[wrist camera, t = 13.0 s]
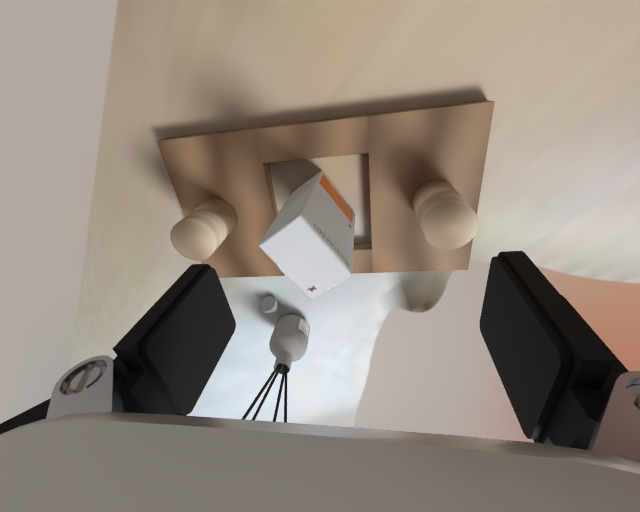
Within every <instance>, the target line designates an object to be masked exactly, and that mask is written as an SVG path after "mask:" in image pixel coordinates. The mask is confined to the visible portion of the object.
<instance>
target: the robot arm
mask: <svg viewBox="0 0 640 512" xmlns="http://www.w3.org/2000/svg"><path fill="white" fill-rule="evenodd" d="M235 327H236V323H235V319H234V317H233V314H232V312H231V309H230V306H229V304H228V301H227V298H226V296H225V293H224V291H223V288H222V285H221V283H220V280H219V278H218V275H217V272H216V270H215V269H214V268H212V267H211V266H210V265H209V264H194V265H191V266H190V267H189V268H188V269H187V270H186V271H185V272H184V273H183V274H182V275H181V276H180V278H179V279H178V280H177V281H176V282H175V283H174V284H173V285H172V286H171V287H170V288H169V289H168V290H167V291H166V292H165V294H164V295H163V296H162V297H161V298H160V299H159V300H158V301H157V302H156V303H155V304H154V305H153V306H152V307H151V308H150V309H149V311H148V312H147V313H146V314H145V315H144V316H143V317H142V318H141V319H140V320H139V321H138V322H137V323H136V324H135V325H134V327H133V328H132V329H131V330H130V331H129V332H128V333H127V334H126V335H125V336H124V337H123V338H122V339H121V340H120V341H119V342H118V344H117V345H116V346H115V347H114V348H113V350H114V351H115V353H116V354H117V357H116V358H115V359H114V360H113V359H112V358H110V357H109V356H103V355H102V356H96V357H93V358H90V359H87V360H85V361H83V362H81V363H79V364H77V365H76V366H74V367H73V368H72V369H70V370H69V371H68V372H66V373H65V374H64V375H63V376H62V377H61V378H60V380H59V381H58V382H57V383H56V385H55V387H54V389H53V392H52V396H51V398H50V399H48V400H47V401H45V402H43V403H41V404H39V405H37V406H35V407H33V408H31V409H29V410H27V411H25V412H23V413H21V414H19V415H17V416H15V417H13V418H11V419H9V420H7V421H5V422H3V423H2V424H0V512H640V371H628V370H627V369H626V368H625V367H624V365H623V364H622V363H621V362H620V361H619V360H618V359H617V358H616V357H615V355H614V354H613V353H612V352H611V350H610V349H609V348H608V347H607V346H606V345H605V343H604V342H603V341H602V340H601V339H600V338H599V337H598V335H597V334H596V333H595V332H594V331H593V330H592V329H591V327H590V326H589V325H588V324H587V323H586V322H585V320H584V319H583V318H582V317H581V316H580V315H579V314H578V312H577V311H576V310H575V309H574V308H573V307H572V305H571V304H570V303H569V302H568V301H567V300H566V299H565V298H564V297H563V296H562V295H560V294H559V293H558V291H557V290H556V289H555V288H554V287H553V286H552V284H551V283H550V282H549V281H548V280H547V279H546V277H545V276H544V275H543V274H542V273H541V272H540V271H539V269H538V268H537V267H536V266H535V265H534V263H533V262H532V261H531V260H530V259H529V258H528V256H527V255H526V254H525V253H524V252H523V251H509V252H500V253H499V254H498V257H493V258H492V259H491V264H490V269H489V275H488V280H487V286H486V291H485V296H484V302H483V307H482V313H481V319H480V330H481V334H482V336H483V338H484V341H485V343H486V345H487V348H488V350H489V352H490V355H491V357H492V359H493V362H494V364H495V366H496V369H497V371H498V374H499V376H500V378H501V381H502V383H503V385H504V388H505V390H506V392H507V395H508V397H509V399H510V402H511V404H512V406H513V409H514V411H515V414H516V416H517V418H518V421H519V423H520V425H521V428H522V430H523V432H524V434H525V436H526V437H527V438H528V439H533V440H534V442H535V443H531V442H520V441H510V440H499V439H488V438H478V437H467V436H455V435H442V434H430V433H416V432H404V431H391V430H378V429H365V428H352V427H338V426H325V425H311V424H297V423H283V422H269V421H255V420H241V419H226V418H211V417H196V416H186V415H187V414H189V413H190V412H191V411H192V410H193V408H194V406H195V405H196V403H197V401H198V399H199V397H200V395H201V393H202V391H203V389H204V388H205V386H206V384H207V382H208V380H209V378H210V376H211V374H212V372H213V371H214V369H215V367H216V365H217V363H218V361H219V359H220V357H221V355H222V354H223V352H224V350H225V348H226V346H227V344H228V342H229V340H230V339H231V337H232V335H233V333H234V331H235Z"/></svg>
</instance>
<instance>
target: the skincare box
mask: <svg viewBox="0 0 640 512" xmlns="http://www.w3.org/2000/svg"><path fill="white" fill-rule="evenodd" d="M354 226H355V213H354V212H353V211H352V209H351V208H350V207H349V206H348V204H347V203H346V202H345V201H344V199H343V198H342V197H341V196H340V194H339V193H338V192H337V191H336V189H335V188H334V186H333V185H332V184H331V182H330V181H329V180H328V178H327V177H326V176H325V174H324V173H323V172H322V171H319V172H318V173H317V174H315V175H314V176H313V177H312V178H310V179H309V180H308V181H306V182H305V183H304V184H302V185H301V186H300V187H299V188H297V189H296V190H295V191H293V192H292V193H291V195H290V196H289V198H288V199H287V201H286V202H285V204H284V205H283V207H282V209H281V210H280V212H279V213H278V215H277V216H276V218H275V220H274V221H273V223H272V224H271V226H270V227H269V229H268V230H267V232H266V234H265V235H264V236H263V238H262V239H261V241H260V242H259V247H260V248H261V249H262V250H263V251H264V252H265V253H266V254H267V255H268V257H269V258H270V259H271V260H272V261H273V262H274V263H275V264H276V265H277V266H278V267H279V269H280V270H281V271H282V272H283V273H284V275H285V276H286V277H287V278H288V279H290V280H291V281H292V282H293V283H294V284H295V285H296V286H297V287H298V288H299V289H300V290H301V291H302V292H303V293H304V294H305V295H306V296H307V297H308V298H309V299H311V300H312V299H313V298H315V297H317V296H318V295H320V294H321V293H323V292H325V291H326V290H328V289H330V288H331V287H333V286H335V285H336V284H338V283H340V282H342V281H343V280H345V279H346V278H348V277H350V276H351V275H352V266H353V246H354Z"/></svg>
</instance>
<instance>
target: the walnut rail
mask: <svg viewBox="0 0 640 512" xmlns="http://www.w3.org/2000/svg"><path fill="white" fill-rule="evenodd" d="M493 108H494V101H488V100H487V101H478V102H470V103H462V104H453V105H445V106H436V107H428V108H419V109H411V110H402V111H394V112H385V113H377V114H369V115H360V116H352V117H343V118H335V119H326V120H318V121H309V122H301V123H292V124H284V125H275V126H267V127H259V128H250V129H242V130H233V131H225V132H216V133H208V134H199V135H191V136H182V137H174V138H166V139H162V140H159V141H157V143H158V146H159V149H160V151H161V154H162V157H163V159H164V162H165V165H166V167H167V170H168V173H169V175H170V178H171V181H172V183H173V186H174V189H175V191H176V194H177V197H178V199H179V202H180V205H181V207H182V210H183V213H184V215H185V218H183V219H182V220H181V221H180V222H178V223H177V224H176V225H175V226H174V227H173V228H172V230H171V235H170V236H171V241H172V244H173V246H174V247H175V249H176V250H177V251H178V252H179V253H180V254H181V255H183V256H184V257H186V258H188V259H191V260H195V261H202V264H209V265H210V266H211V267H212V268H214V269H215V270H216V272H217V275H218V278H227V277H258V276H285V275H284V273H283V272H282V271H281V270H280V269H279V267H278V266H277V265H276V264H275V263H274V262H273V261H272V260H271V259H270V258H269V257H268V255H267V254H266V253H265V252H264V251H263V250H262V249H261V248H260V247H259V242H260V241H261V239H262V238H263V236H264V235H265V234H266V232H267V230H268V229H269V227H270V226H271V224H272V223H273V221H274V220H275V218H276V216H277V215H278V211H277V206H276V201H275V196H274V191H273V186H272V181H271V177H270V172H269V167H268V163H270V162H280V161H290V160H300V159H311V158H321V157H331V156H341V155H352V154H362V153H368V155H369V184H370V212H371V241H372V243H358V244H354V246H353V266H352V273H380V272H410V271H441V270H467V269H468V266H469V260H470V253H471V247H472V241H473V237H474V236H475V234H476V232H477V229H478V224H479V222H478V217H477V209H478V203H479V196H480V190H481V184H482V177H483V171H484V165H485V158H486V152H487V146H488V139H489V133H490V127H491V120H492V114H493Z"/></svg>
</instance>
